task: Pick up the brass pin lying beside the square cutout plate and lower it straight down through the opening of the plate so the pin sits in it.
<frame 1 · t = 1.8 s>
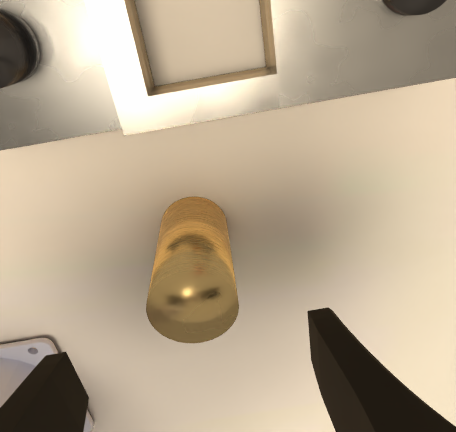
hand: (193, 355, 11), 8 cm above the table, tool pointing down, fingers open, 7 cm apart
square cutout plate: (199, 13, 14), on the table
brass pin: (194, 226, 18), on the table
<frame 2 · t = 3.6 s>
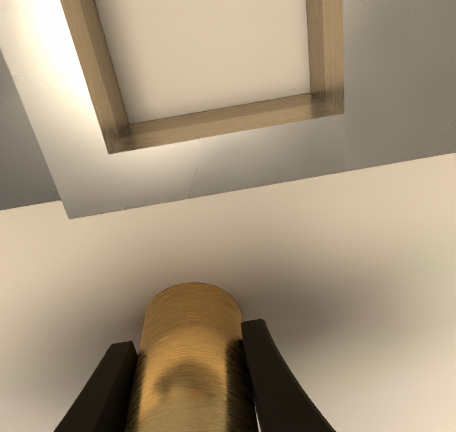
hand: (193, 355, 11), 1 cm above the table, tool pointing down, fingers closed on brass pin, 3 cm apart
square cutout plate: (202, 3, 8), on the table
brass pin: (193, 321, 12), on the table, touching gripper
when the fingers open (3 cm above the table, at t = 7.6 s): brass pin drops 1 cm, resting in square cutout plate.
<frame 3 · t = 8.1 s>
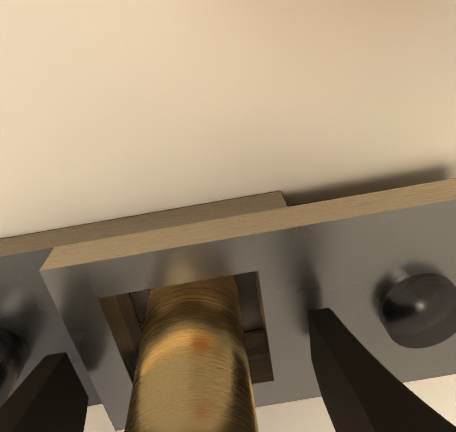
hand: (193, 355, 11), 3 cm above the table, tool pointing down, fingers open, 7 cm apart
square cutout plate: (194, 293, 14), on the table
brass pin: (194, 293, 14), resting in square cutout plate
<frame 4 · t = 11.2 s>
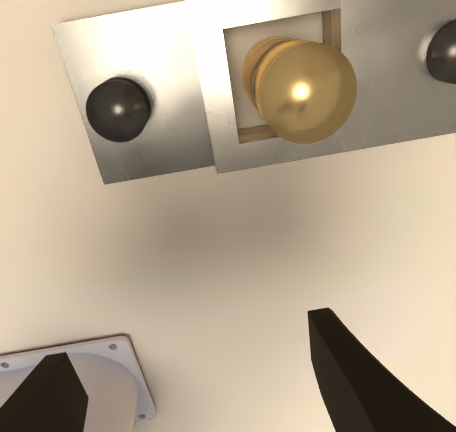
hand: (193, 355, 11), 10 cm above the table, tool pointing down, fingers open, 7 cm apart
square cutout plate: (275, 73, 18), on the table
brass pin: (275, 74, 18), resting in square cutout plate
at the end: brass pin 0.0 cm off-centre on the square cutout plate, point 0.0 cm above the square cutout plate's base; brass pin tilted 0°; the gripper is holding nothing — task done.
